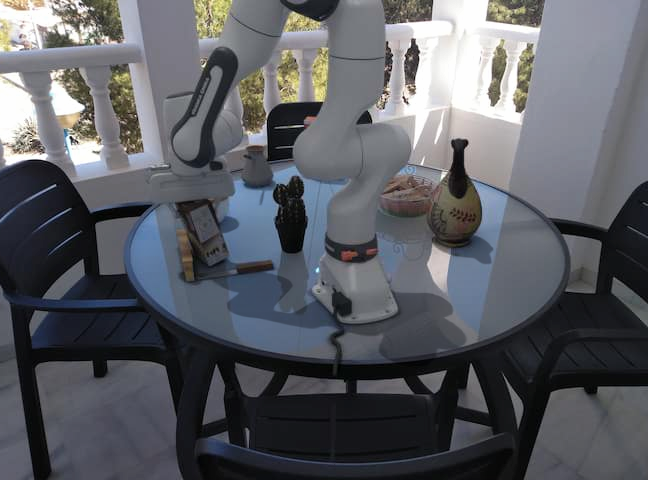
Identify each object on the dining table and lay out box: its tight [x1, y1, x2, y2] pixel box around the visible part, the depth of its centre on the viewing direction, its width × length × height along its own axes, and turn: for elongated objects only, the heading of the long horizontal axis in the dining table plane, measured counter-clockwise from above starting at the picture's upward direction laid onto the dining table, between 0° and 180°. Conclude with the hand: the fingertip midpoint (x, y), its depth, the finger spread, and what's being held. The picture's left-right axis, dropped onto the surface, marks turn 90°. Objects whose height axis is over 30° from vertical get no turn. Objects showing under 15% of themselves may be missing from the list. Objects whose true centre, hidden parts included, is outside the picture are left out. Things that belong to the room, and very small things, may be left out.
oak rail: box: [176, 228, 196, 282], centre depth 137 cm, size 18×2×6 cm, turn 19°
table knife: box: [195, 259, 274, 281], centre depth 134 cm, size 2×19×2 cm, turn 109°
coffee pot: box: [240, 144, 275, 188], centre depth 182 cm, size 21×12×15 cm, turn 175°
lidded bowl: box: [208, 197, 230, 224], centre depth 159 cm, size 13×13×11 cm
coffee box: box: [174, 199, 230, 267], centre depth 136 cm, size 9×6×16 cm
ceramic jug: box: [425, 137, 483, 248], centre depth 145 cm, size 17×15×30 cm
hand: (196, 215), depth 134 cm, fingers closed on coffee box, 8 cm apart
